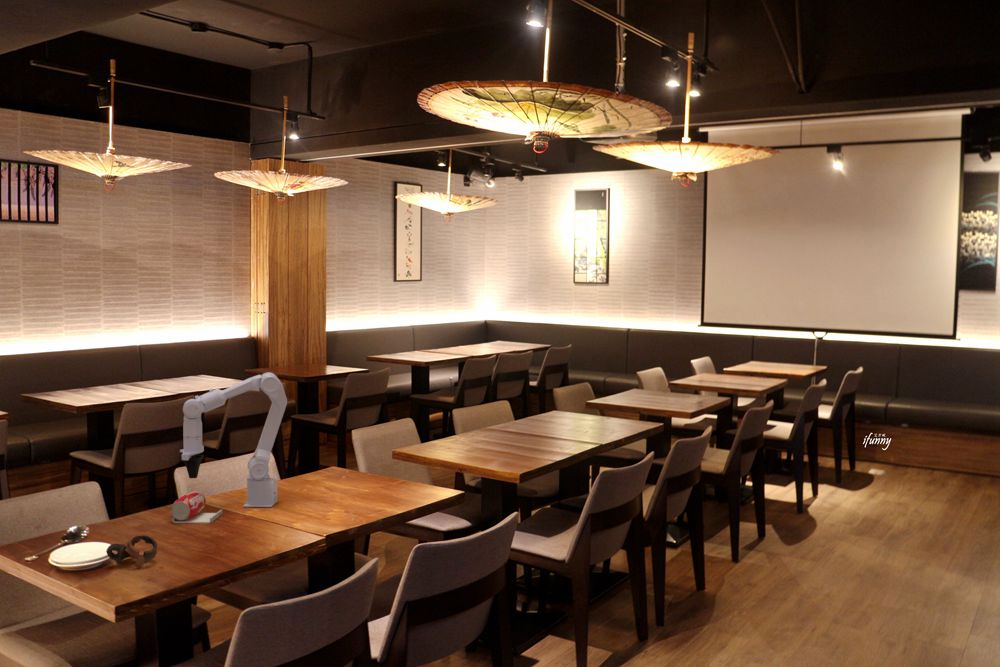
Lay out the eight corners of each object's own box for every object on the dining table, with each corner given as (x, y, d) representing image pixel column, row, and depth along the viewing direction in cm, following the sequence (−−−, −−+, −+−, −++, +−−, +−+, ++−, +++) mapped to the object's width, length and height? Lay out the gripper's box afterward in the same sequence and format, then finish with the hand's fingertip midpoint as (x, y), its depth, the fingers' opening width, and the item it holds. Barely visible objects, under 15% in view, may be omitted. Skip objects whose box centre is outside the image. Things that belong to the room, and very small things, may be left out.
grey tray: (222, 514, 257) (222, 509, 257) (211, 523, 247) (211, 518, 247) (184, 514, 257) (184, 509, 257) (172, 523, 247) (172, 518, 247)
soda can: (211, 504, 258) (196, 514, 246) (193, 515, 258) (176, 526, 246) (199, 485, 258) (183, 495, 246) (181, 496, 258) (164, 507, 246)
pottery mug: (147, 556, 218) (158, 532, 215) (151, 581, 211) (162, 556, 208) (100, 553, 210) (110, 528, 208) (103, 579, 203) (114, 553, 201)
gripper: (188, 432, 268) (188, 472, 268) (171, 440, 253) (172, 483, 254) (209, 432, 268) (210, 472, 269) (194, 440, 253) (194, 483, 254)
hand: (193, 477), depth 261 cm, fingers closed
